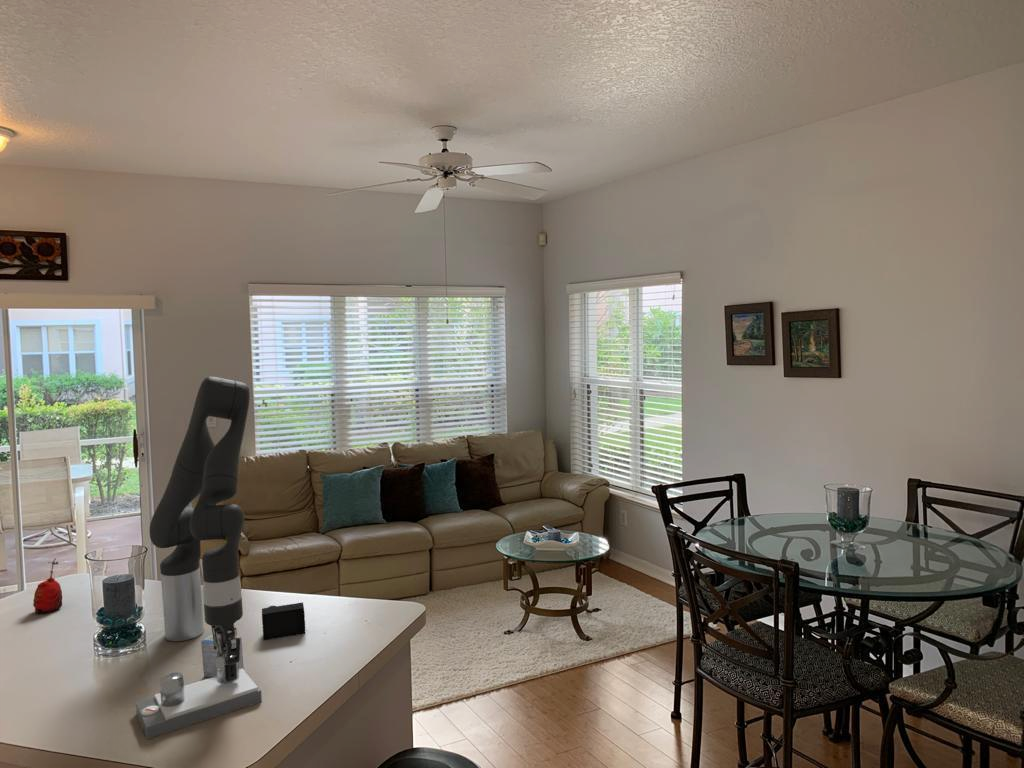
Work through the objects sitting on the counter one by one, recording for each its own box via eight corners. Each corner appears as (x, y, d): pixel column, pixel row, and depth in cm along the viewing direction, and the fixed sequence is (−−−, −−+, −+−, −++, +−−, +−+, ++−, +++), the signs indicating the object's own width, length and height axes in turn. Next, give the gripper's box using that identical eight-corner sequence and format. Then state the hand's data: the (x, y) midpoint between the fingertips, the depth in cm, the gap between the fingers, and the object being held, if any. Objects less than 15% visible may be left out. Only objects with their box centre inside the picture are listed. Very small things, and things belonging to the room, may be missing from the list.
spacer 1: (161, 698, 150) (159, 675, 149) (184, 693, 151) (182, 670, 151) (161, 709, 146) (159, 685, 145) (185, 703, 148) (183, 679, 147)
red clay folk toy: (43, 605, 213) (39, 556, 212) (68, 603, 214) (64, 554, 212) (29, 616, 205) (24, 564, 204) (55, 614, 206) (51, 562, 205)
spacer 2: (214, 678, 155) (213, 655, 155) (235, 671, 158) (234, 649, 158) (220, 685, 152) (218, 663, 151) (241, 679, 154) (240, 656, 154)
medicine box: (244, 672, 167) (242, 635, 166) (231, 681, 163) (228, 644, 162) (217, 668, 169) (214, 632, 169) (203, 677, 165) (200, 640, 165)
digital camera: (304, 625, 192) (303, 600, 192) (305, 633, 187) (304, 607, 187) (263, 632, 189) (261, 606, 188) (263, 640, 184) (261, 614, 183)
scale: (136, 713, 150) (135, 699, 150) (245, 680, 163) (244, 666, 163) (147, 739, 140) (146, 723, 140) (261, 701, 153) (260, 687, 153)
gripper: (250, 603, 150) (256, 682, 151) (231, 584, 161) (236, 658, 163) (212, 612, 146) (218, 694, 147) (195, 592, 157) (201, 668, 158)
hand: (227, 675), depth 155 cm, fingers closed on spacer 2, 4 cm apart
